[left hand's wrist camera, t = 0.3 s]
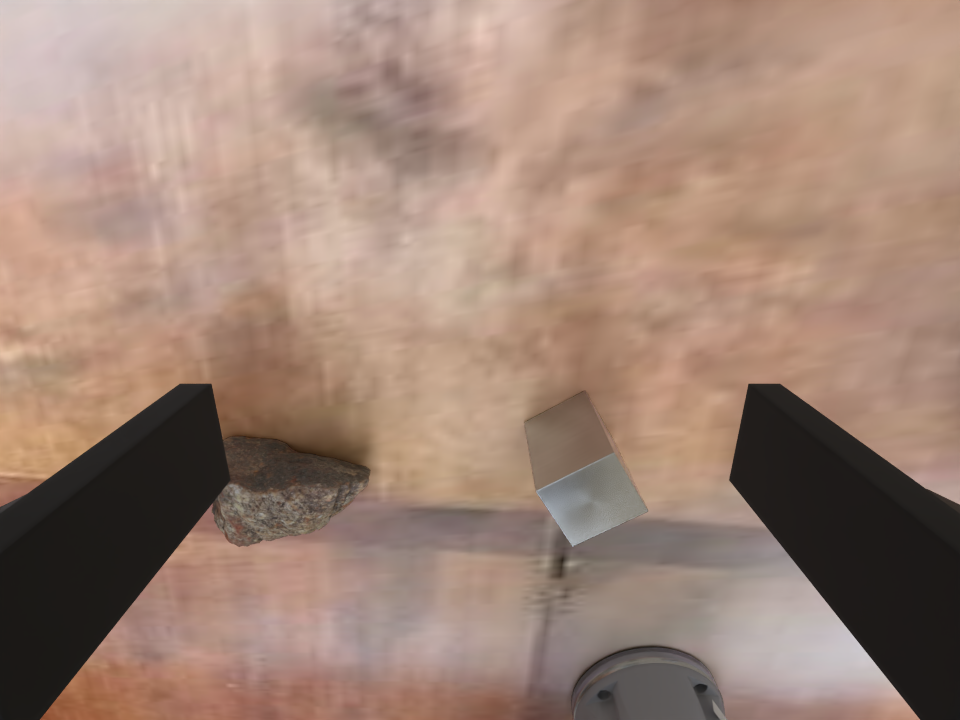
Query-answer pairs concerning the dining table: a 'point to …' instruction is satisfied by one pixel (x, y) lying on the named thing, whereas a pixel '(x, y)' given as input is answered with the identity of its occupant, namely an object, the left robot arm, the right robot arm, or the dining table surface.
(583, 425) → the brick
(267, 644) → the dining table surface
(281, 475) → the rock
